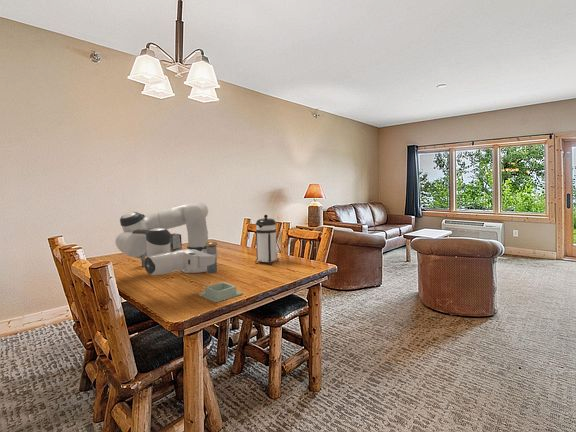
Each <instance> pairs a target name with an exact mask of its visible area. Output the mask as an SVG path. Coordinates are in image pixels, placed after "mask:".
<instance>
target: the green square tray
mask: <svg viewBox="0 0 576 432" xmlns="http://www.w3.org/2000/svg"><path fill="white" fill-rule="evenodd" d="M243 294H244V293H243V292H241V291H238V290H237V286H236V285H233V284H231V283H228V282H226V281H220V282H217V283H214V284H210V285H207V286H204V291H203V292H200V293H199V292H198V296H200V295H201V296H200V297H202V296H203V297H202V298H204V297H205V298H204V299H206V298H207V299H206V300H208V299H209V300H208V301H210V300H211V301H210V302H212V301H213V302H212V303H214V302H215V303H214V304H216V302H218V303H221V302H224V301H227V300H231V299H233V298H236V297H238V296H242V295H243ZM226 299H227V300H226ZM223 300H224V301H223ZM220 301H221V302H220Z"/></svg>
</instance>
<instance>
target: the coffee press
mask: <svg viewBox="0 0 576 432" xmlns="http://www.w3.org/2000/svg"><path fill="white" fill-rule="evenodd" d="M255 225H256V228H255V238H256V241H255V243H256V260H255V261H254V262H255V264H259V263H268V265H269V266H271V265H272V262H275V261H276V262H279V259H278V257H277V221H276V220H275V219H273V218H268V215H267V214H264V215H263V218H259V219H257V220H256V222H255Z"/></svg>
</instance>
